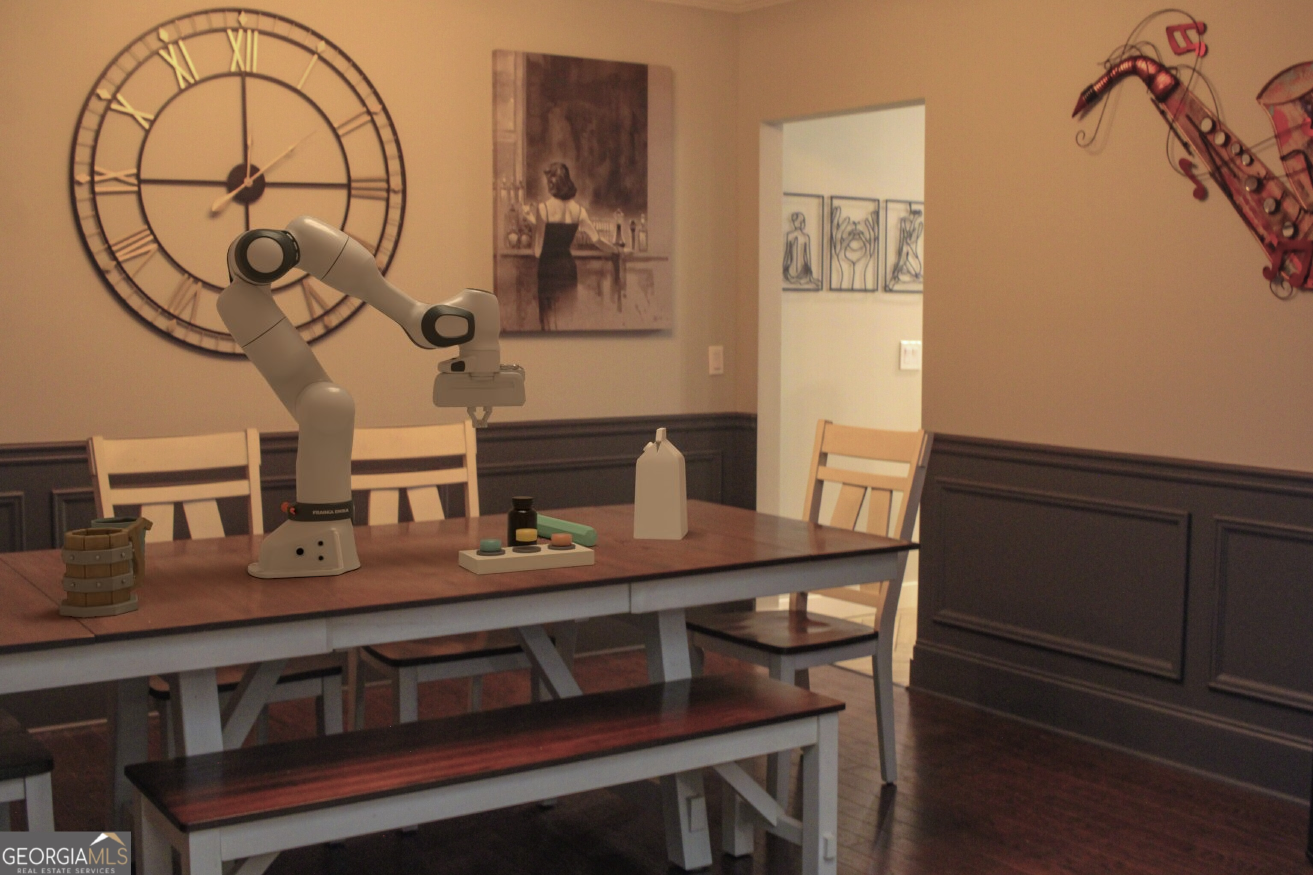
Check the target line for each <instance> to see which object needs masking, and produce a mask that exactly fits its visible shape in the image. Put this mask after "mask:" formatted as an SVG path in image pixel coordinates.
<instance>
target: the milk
mask: <svg viewBox="0 0 1313 875" xmlns="http://www.w3.org/2000/svg"><path fill="white" fill-rule="evenodd" d="M642 450H643V451H644V452H643V453H642V454H641V455H640V456H639V457H638V458H637V459H636V464H635V483H634V484H635V488H634V515H633V517H634V518H633V539H640V540H643V539H645V540H673V541H674V540H677V541H678V540H679V541H680V540H682V539H683V538H684V537H685V536H686V534H688V530H689V529H688V528H689V527H688V504H687V480H686V478H687V477H686V459H685V456H684V455H683V453H681V451H680V450H679V449H677V447H676V446H674V445H673V443H672V442H671V441H669V440H668V439H667V427H660V428H657V429H656V433H655V441H654V442H652V441H650V442H648V443H647V445H645V446H644V447H643V449H642Z"/></svg>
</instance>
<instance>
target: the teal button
mask: <svg viewBox="0 0 1313 875" xmlns="http://www.w3.org/2000/svg"><path fill="white" fill-rule="evenodd" d="M479 547H480V548H479V549H480V551H485V552H495V551H500V550H501V548H502V539H500V538H499V539H498V538H484V539H483V538H482V539H480V540H479Z"/></svg>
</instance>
